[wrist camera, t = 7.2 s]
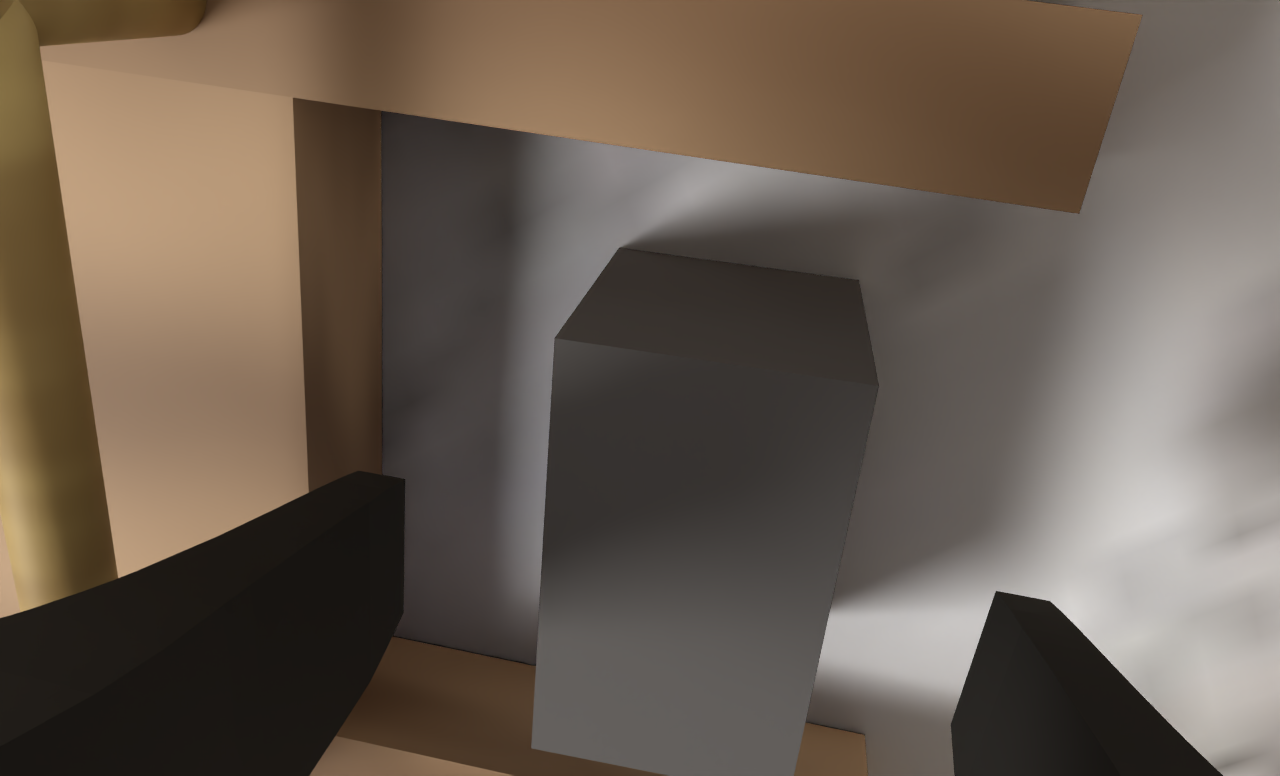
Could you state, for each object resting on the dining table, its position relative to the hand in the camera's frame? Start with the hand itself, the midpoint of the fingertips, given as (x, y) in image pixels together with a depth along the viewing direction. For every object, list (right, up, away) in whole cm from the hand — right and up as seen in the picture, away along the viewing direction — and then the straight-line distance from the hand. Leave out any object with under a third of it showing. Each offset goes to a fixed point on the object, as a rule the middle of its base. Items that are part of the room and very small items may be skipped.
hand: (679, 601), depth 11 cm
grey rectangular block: (+1, +2, +4) cm, 4 cm away
